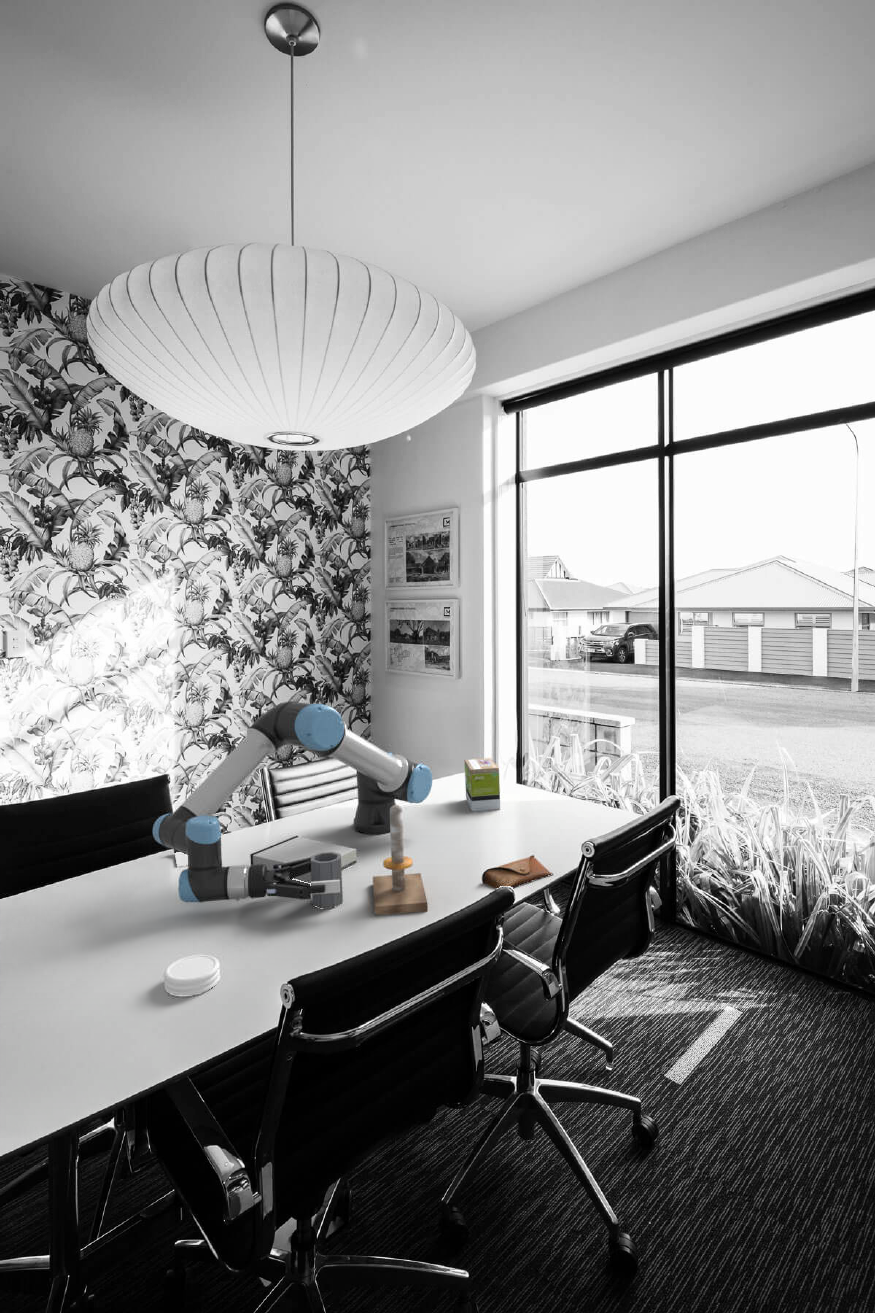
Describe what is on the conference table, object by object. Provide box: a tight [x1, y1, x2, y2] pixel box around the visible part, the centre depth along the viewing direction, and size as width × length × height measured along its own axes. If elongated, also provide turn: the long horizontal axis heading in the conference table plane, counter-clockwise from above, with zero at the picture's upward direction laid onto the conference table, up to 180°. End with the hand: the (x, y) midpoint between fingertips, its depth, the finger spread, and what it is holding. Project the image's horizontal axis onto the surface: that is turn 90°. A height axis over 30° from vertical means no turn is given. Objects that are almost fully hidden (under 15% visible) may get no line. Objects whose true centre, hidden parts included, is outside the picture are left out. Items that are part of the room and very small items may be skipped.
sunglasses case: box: [481, 854, 554, 889], centre depth 182 cm, size 18×7×7 cm, turn 128°
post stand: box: [372, 804, 429, 916], centre depth 171 cm, size 12×18×22 cm, turn 6°
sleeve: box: [311, 852, 344, 909], centre depth 170 cm, size 7×7×11 cm
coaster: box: [163, 954, 221, 995], centre depth 135 cm, size 10×10×4 cm
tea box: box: [464, 757, 501, 812], centre depth 248 cm, size 15×10×15 cm, turn 6°
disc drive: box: [249, 835, 358, 883], centre depth 194 cm, size 18×22×5 cm
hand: (340, 875), depth 170 cm, fingers open, 13 cm apart
